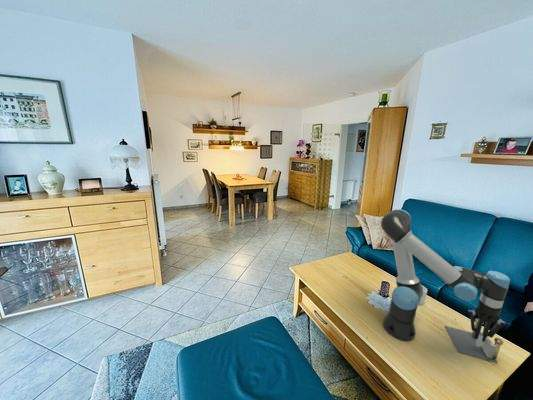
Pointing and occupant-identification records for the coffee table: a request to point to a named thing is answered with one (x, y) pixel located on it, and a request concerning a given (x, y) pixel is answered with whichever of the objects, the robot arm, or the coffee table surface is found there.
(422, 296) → the cup
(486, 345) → the beige piece
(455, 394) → the coffee table surface
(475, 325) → the hinge post
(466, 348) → the mat
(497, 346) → the brass capped rod
